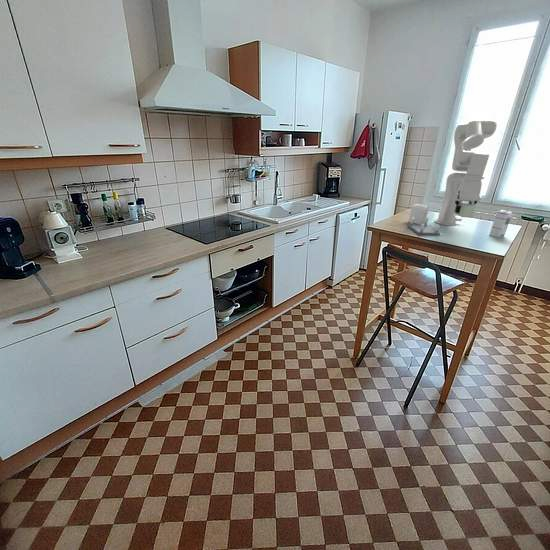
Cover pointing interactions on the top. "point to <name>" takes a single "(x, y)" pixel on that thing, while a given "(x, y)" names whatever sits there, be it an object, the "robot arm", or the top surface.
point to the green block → (465, 209)
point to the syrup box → (500, 223)
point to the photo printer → (418, 213)
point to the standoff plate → (425, 231)
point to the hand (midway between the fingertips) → (462, 212)
